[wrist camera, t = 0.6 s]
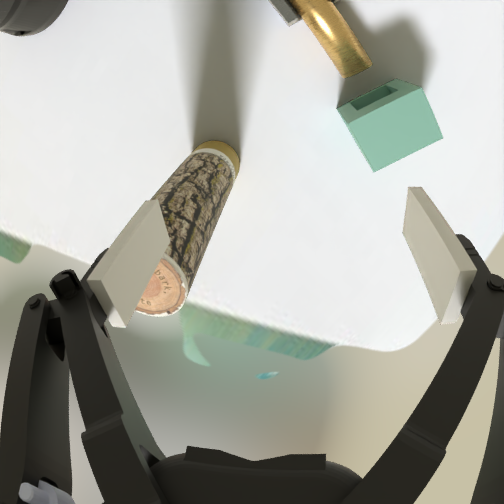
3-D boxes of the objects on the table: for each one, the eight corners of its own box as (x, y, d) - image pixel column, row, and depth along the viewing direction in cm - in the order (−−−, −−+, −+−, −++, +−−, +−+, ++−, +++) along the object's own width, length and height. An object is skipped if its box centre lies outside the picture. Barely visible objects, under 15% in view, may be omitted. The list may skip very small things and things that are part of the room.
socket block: (336, 108, 36) (347, 124, 29) (396, 78, 32) (421, 87, 25) (358, 147, 39) (373, 172, 31) (415, 119, 35) (443, 138, 28)
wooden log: (222, 129, 40) (141, 230, 19) (250, 170, 43) (205, 301, 22) (182, 155, 42) (87, 267, 22) (210, 192, 45) (144, 325, 25)
